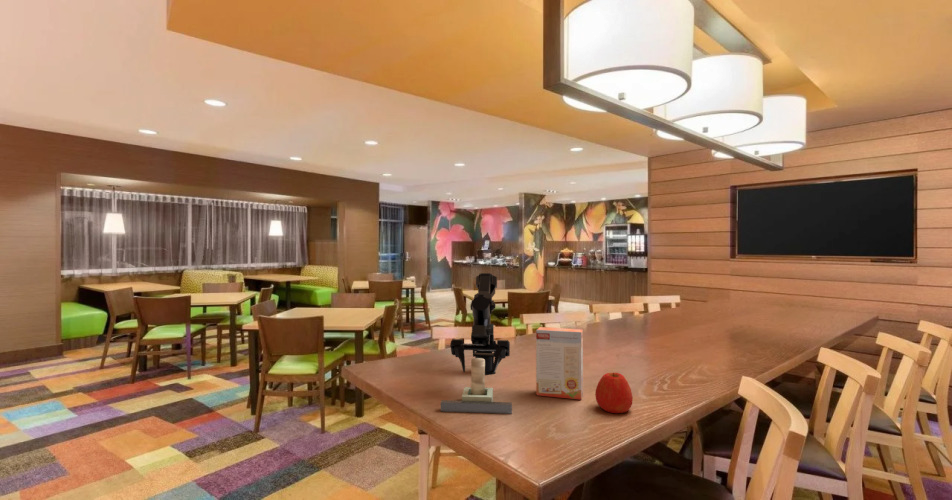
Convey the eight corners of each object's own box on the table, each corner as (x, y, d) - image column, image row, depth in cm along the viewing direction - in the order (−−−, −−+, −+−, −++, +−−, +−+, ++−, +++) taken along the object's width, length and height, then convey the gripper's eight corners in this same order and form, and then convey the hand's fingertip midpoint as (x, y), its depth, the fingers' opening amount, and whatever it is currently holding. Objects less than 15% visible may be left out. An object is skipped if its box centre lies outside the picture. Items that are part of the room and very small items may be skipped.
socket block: (464, 400, 133) (464, 387, 133) (492, 400, 133) (492, 387, 133) (461, 410, 125) (461, 396, 125) (491, 411, 124) (491, 397, 124)
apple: (607, 400, 133) (607, 366, 133) (639, 409, 125) (639, 373, 125) (588, 408, 126) (588, 372, 126) (621, 418, 118) (621, 380, 118)
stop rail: (441, 408, 125) (441, 400, 125) (511, 411, 123) (511, 402, 123) (440, 411, 123) (440, 402, 123) (511, 413, 121) (511, 404, 121)
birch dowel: (476, 398, 132) (477, 357, 132) (487, 401, 129) (487, 359, 129) (468, 402, 129) (468, 359, 129) (478, 405, 126) (478, 362, 126)
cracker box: (583, 394, 138) (583, 328, 138) (581, 400, 132) (581, 331, 132) (539, 389, 142) (539, 325, 142) (535, 395, 137) (535, 328, 137)
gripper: (451, 314, 139) (445, 357, 128) (509, 314, 138) (509, 358, 127) (454, 333, 147) (449, 375, 136) (509, 334, 146) (509, 377, 135)
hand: (478, 371), depth 133 cm, fingers open, 9 cm apart
